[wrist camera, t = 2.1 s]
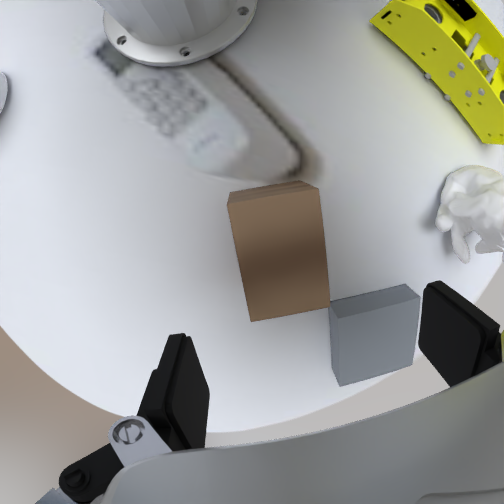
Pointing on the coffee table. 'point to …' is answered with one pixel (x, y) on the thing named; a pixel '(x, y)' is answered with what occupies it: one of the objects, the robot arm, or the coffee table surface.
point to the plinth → (373, 333)
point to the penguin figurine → (473, 209)
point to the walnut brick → (280, 249)
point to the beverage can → (3, 90)
